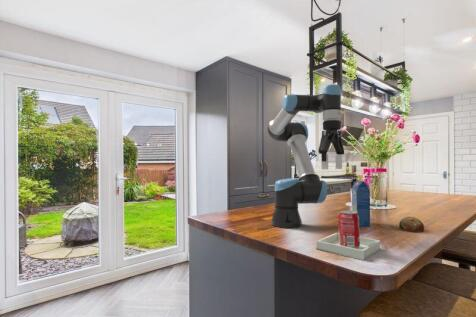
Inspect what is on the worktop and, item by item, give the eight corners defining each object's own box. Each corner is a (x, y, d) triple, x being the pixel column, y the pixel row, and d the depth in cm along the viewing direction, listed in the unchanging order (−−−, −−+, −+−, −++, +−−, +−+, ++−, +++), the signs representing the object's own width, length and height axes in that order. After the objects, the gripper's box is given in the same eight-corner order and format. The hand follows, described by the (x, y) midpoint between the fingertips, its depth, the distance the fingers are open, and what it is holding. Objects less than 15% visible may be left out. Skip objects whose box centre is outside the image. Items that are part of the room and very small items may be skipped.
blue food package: (356, 226, 137) (356, 175, 137) (351, 221, 149) (351, 174, 149) (370, 227, 135) (369, 176, 136) (364, 222, 147) (364, 174, 148)
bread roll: (398, 235, 135) (391, 220, 134) (416, 225, 135) (409, 210, 135) (412, 240, 125) (405, 224, 125) (431, 230, 125) (424, 214, 125)
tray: (316, 249, 101) (316, 241, 101) (336, 240, 113) (336, 232, 113) (363, 260, 90) (363, 251, 90) (380, 248, 101) (380, 240, 102)
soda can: (363, 250, 98) (362, 213, 99) (342, 249, 99) (342, 213, 99) (355, 244, 105) (355, 210, 106) (336, 244, 106) (336, 209, 106)
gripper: (326, 116, 110) (327, 169, 110) (351, 122, 128) (352, 168, 128) (309, 118, 115) (310, 169, 115) (335, 124, 133) (336, 168, 133)
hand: (332, 169), depth 122 cm, fingers open, 13 cm apart
